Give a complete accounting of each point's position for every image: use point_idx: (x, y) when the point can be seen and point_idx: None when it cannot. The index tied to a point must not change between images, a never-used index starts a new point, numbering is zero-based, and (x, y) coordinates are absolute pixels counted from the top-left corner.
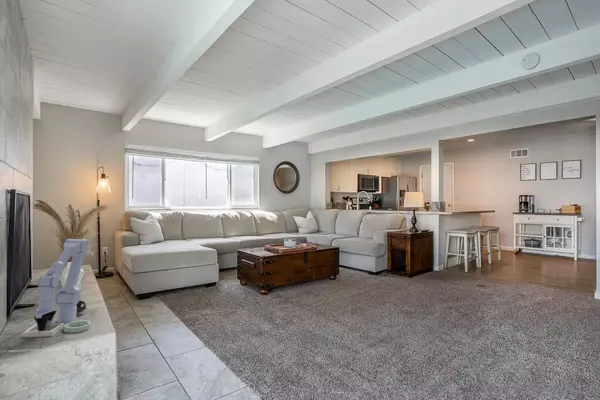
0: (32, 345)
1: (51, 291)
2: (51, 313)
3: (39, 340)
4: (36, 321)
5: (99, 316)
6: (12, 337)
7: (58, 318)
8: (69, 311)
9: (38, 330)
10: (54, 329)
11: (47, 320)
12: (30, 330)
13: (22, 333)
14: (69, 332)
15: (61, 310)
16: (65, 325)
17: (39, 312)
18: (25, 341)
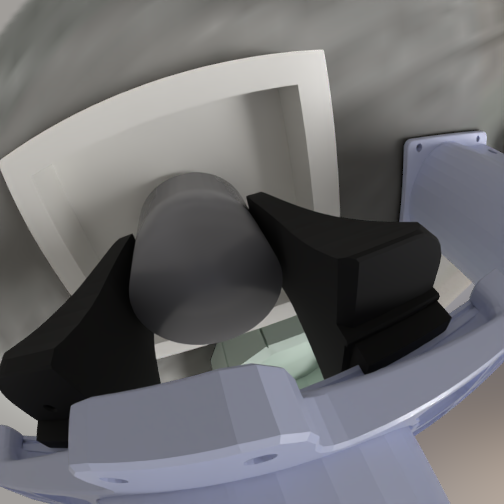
0: (3, 314)
1: None
2: (328, 373)
3: (60, 295)
4: (48, 326)
5: (462, 282)
6: (51, 23)
7: (450, 179)
8: (473, 282)
9: (144, 207)
10: (171, 348)
11: (250, 294)
12: (107, 136)
13: (2, 160)
14: (213, 369)
15: (496, 244)
16: (266, 353)
17: (46, 496)
18: (8, 223)
